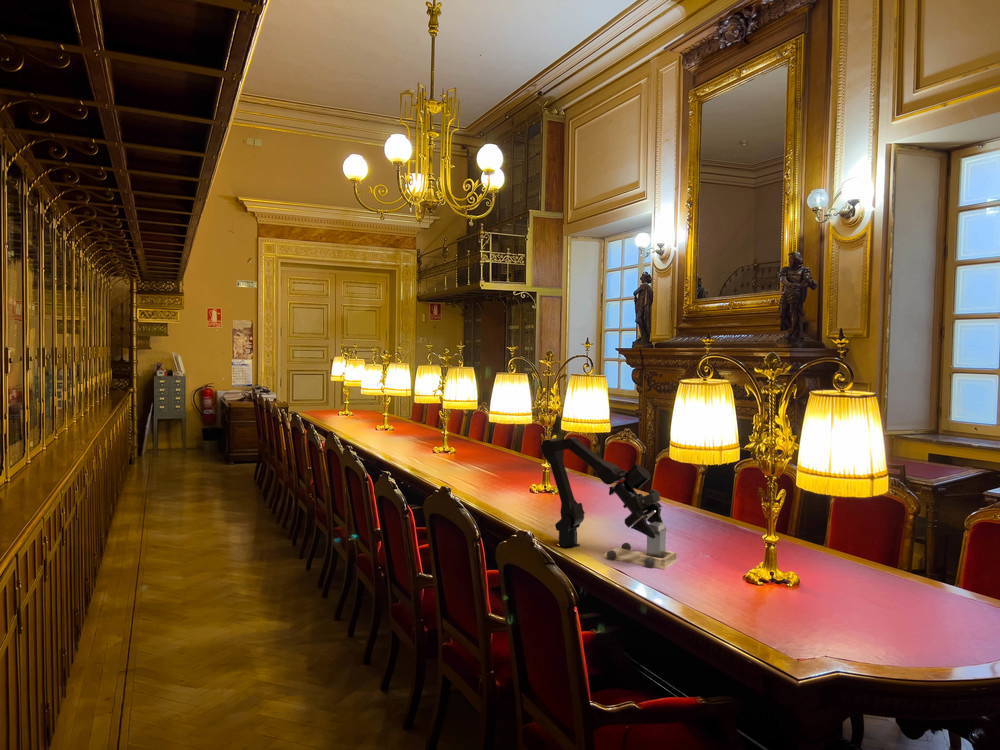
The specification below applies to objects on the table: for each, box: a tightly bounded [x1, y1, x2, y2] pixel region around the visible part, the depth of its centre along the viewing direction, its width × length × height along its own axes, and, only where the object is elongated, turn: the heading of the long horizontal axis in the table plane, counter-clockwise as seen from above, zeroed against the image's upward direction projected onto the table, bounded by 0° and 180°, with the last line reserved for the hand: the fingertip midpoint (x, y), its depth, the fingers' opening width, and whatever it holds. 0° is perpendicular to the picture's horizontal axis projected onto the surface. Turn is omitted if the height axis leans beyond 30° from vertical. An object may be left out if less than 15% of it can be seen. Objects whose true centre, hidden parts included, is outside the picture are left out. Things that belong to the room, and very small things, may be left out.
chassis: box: [602, 542, 677, 570], centre depth 229 cm, size 22×13×3 cm, turn 54°
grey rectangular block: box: [646, 522, 667, 559], centre depth 225 cm, size 4×5×12 cm
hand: (660, 534), depth 224 cm, fingers open, 9 cm apart
